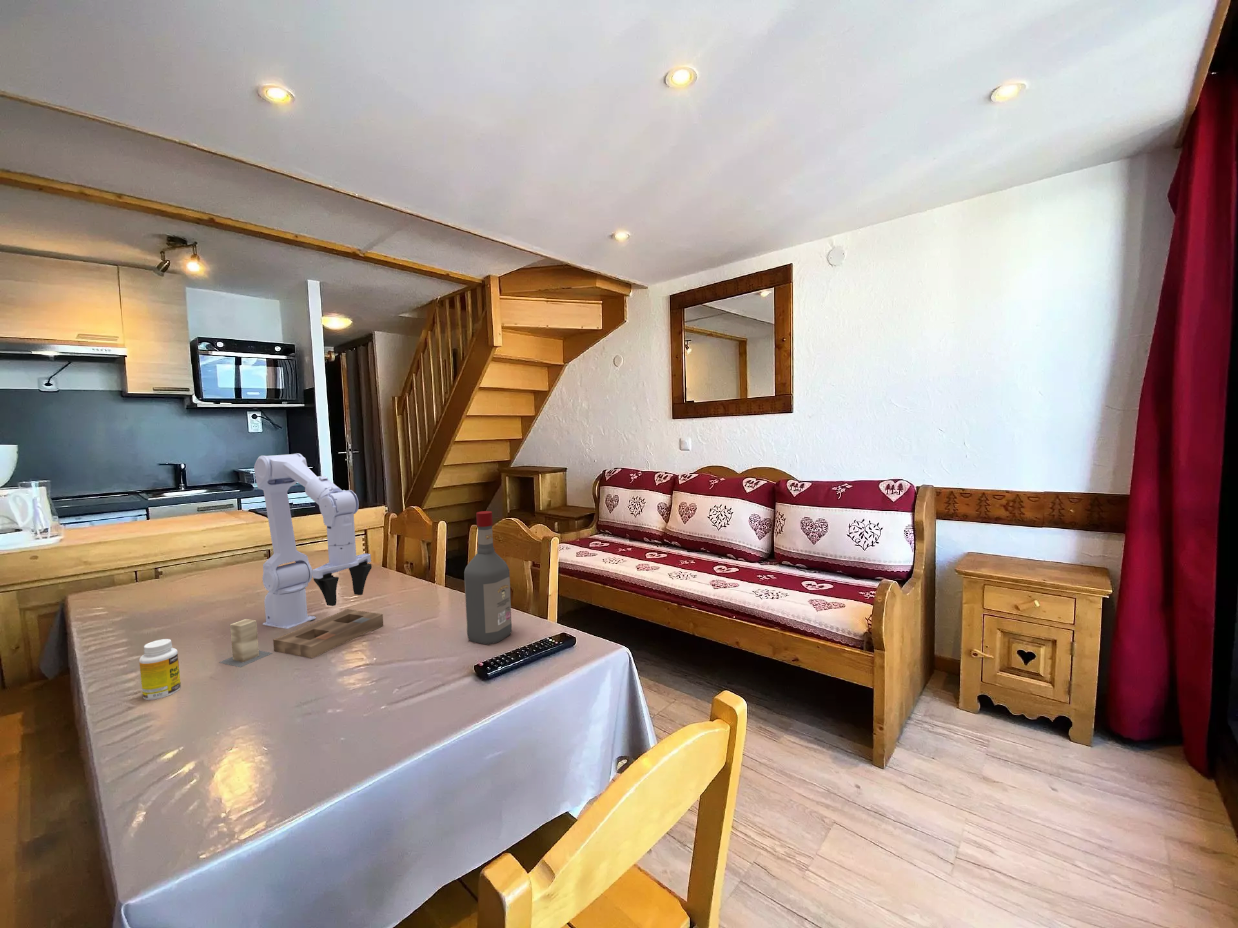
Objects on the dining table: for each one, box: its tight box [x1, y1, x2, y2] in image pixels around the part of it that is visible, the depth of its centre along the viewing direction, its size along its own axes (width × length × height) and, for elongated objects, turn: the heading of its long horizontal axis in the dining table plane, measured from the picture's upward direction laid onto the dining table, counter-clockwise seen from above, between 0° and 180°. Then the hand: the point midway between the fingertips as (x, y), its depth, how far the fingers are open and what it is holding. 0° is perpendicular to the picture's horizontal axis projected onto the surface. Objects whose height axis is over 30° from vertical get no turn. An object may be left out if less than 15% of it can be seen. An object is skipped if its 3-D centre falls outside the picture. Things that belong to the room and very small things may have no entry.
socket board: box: [272, 608, 384, 659], centre depth 125 cm, size 12×20×3 cm, turn 159°
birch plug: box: [229, 618, 260, 662], centre depth 114 cm, size 3×3×8 cm
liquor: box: [463, 510, 513, 645], centre depth 123 cm, size 9×9×30 cm
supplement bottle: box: [138, 638, 182, 701], centre depth 100 cm, size 6×6×10 cm
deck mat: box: [218, 649, 273, 668], centre depth 114 cm, size 7×7×1 cm
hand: (345, 599), depth 122 cm, fingers open, 7 cm apart
